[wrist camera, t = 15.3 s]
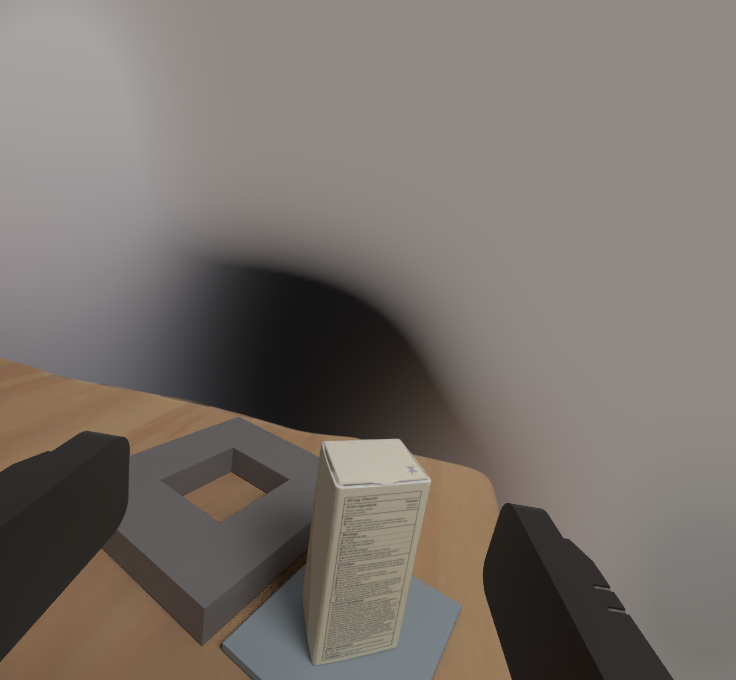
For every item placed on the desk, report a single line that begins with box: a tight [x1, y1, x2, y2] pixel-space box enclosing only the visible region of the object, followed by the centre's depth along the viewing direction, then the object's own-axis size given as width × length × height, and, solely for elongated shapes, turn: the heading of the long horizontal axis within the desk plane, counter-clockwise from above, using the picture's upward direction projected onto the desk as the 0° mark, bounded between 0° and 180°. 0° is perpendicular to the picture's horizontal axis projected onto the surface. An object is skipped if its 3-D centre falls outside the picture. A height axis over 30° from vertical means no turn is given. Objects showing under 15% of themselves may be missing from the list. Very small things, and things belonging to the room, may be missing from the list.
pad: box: [222, 564, 462, 680], centre depth 23 cm, size 10×11×1 cm
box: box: [302, 439, 431, 665], centre depth 21 cm, size 5×4×11 cm
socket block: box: [102, 417, 319, 645], centre depth 31 cm, size 16×16×2 cm
